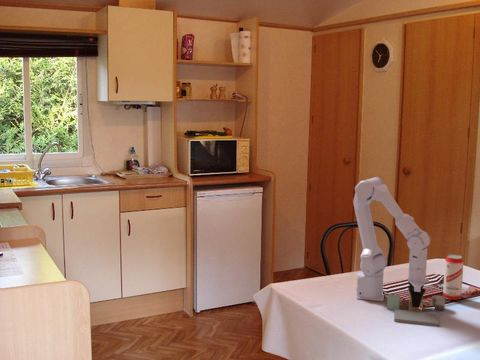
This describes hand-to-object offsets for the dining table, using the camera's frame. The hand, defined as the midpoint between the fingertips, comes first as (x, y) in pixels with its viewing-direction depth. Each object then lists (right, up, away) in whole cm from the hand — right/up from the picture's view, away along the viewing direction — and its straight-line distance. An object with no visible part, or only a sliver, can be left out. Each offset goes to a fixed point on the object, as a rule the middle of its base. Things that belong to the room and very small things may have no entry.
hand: (415, 304), depth 192 cm
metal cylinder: (+8, -2, 0) cm, 8 cm away
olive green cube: (-8, -2, +1) cm, 8 cm away
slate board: (-3, -3, -8) cm, 9 cm away
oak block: (0, -2, 0) cm, 2 cm away
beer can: (+16, 0, +9) cm, 18 cm away
